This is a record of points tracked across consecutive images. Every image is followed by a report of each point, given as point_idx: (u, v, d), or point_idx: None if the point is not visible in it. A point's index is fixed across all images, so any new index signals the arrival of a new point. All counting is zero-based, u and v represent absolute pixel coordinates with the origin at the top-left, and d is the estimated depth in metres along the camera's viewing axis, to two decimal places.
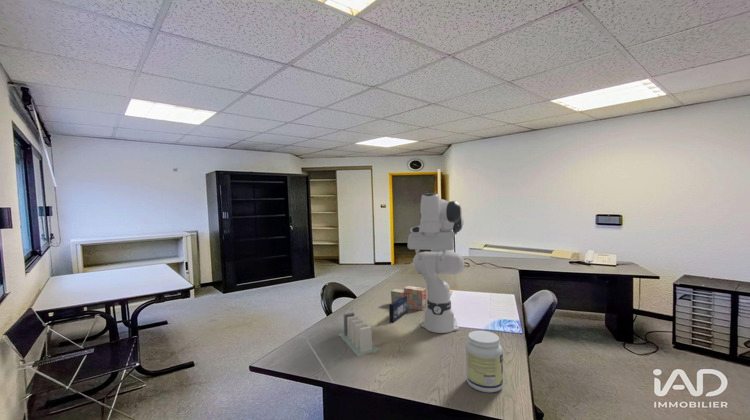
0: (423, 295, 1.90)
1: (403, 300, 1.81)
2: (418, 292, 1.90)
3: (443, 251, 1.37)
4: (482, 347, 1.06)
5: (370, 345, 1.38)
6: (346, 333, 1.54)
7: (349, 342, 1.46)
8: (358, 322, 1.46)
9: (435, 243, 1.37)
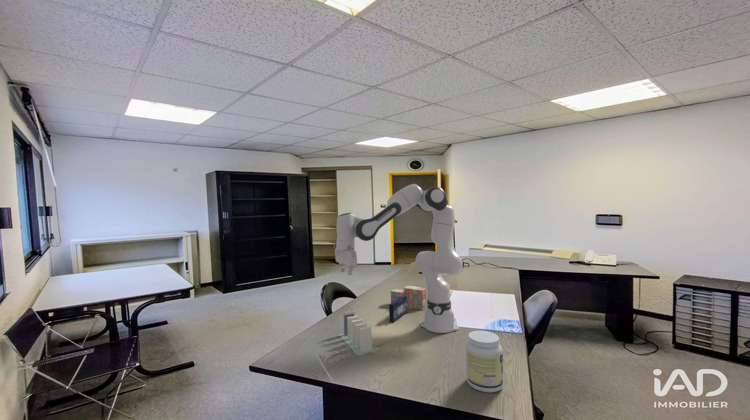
0: (423, 295, 1.91)
1: (403, 300, 1.81)
2: (418, 292, 1.90)
3: (348, 267, 1.51)
4: (482, 347, 1.06)
5: (370, 345, 1.38)
6: (346, 333, 1.54)
7: (349, 342, 1.46)
8: (358, 322, 1.46)
9: (344, 259, 1.54)
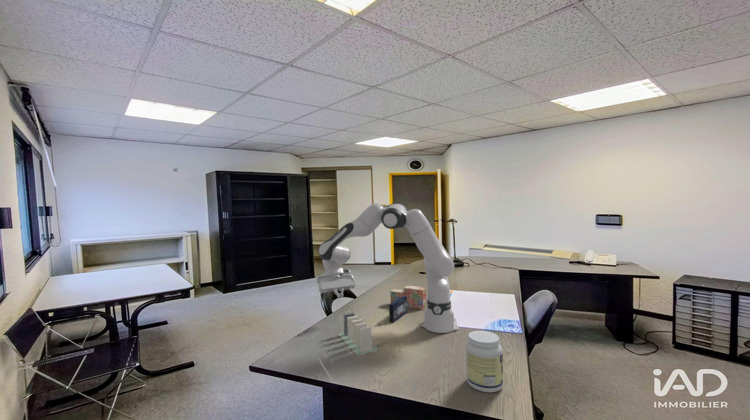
0: (423, 294, 1.92)
1: (403, 300, 1.81)
2: (418, 291, 1.91)
3: None
4: (482, 347, 1.06)
5: (370, 345, 1.38)
6: (346, 333, 1.54)
7: (349, 342, 1.46)
8: (358, 322, 1.46)
9: None
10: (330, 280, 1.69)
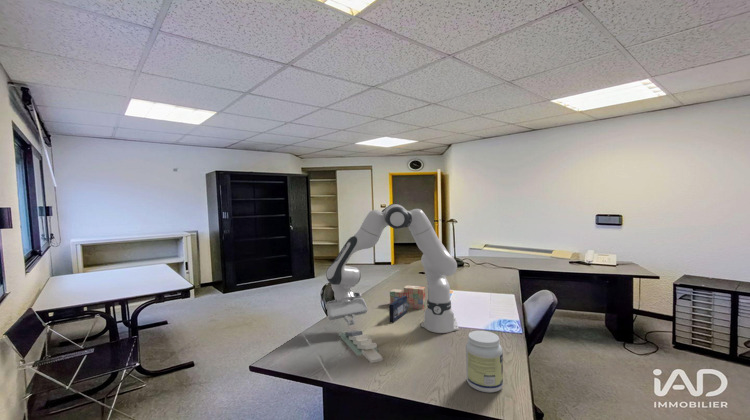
0: (423, 294, 1.93)
1: (403, 300, 1.81)
2: (419, 291, 1.92)
3: None
4: (482, 347, 1.06)
5: None
6: (347, 335, 1.53)
7: (349, 342, 1.46)
8: (367, 343, 1.38)
9: None
10: (340, 305, 1.56)
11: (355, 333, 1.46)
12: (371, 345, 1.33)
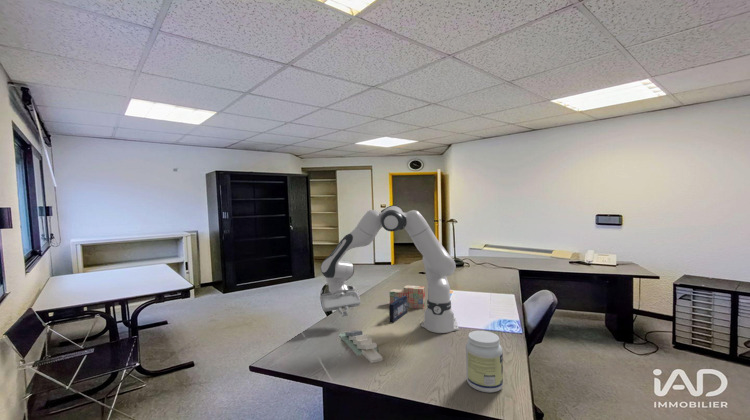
0: (423, 293, 1.94)
1: (403, 300, 1.81)
2: (419, 291, 1.92)
3: None
4: (482, 347, 1.06)
5: None
6: (347, 335, 1.53)
7: (349, 342, 1.46)
8: (367, 343, 1.38)
9: None
10: (334, 298, 1.63)
11: (355, 333, 1.46)
12: (371, 345, 1.33)
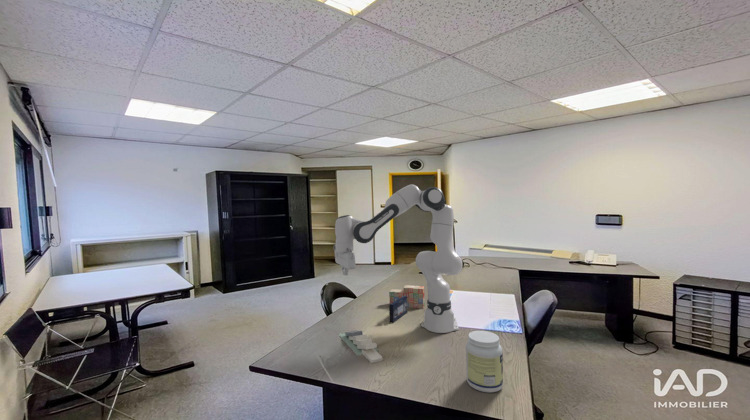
0: (423, 293, 1.94)
1: (403, 300, 1.81)
2: (419, 290, 1.93)
3: (344, 267, 1.57)
4: (482, 347, 1.06)
5: None
6: (347, 335, 1.53)
7: (349, 342, 1.46)
8: (367, 343, 1.38)
9: (343, 261, 1.56)
10: None
11: (355, 333, 1.46)
12: (371, 345, 1.33)
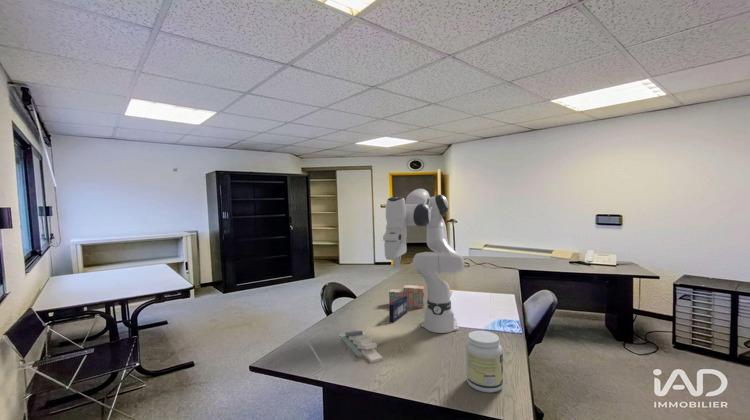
0: (423, 293, 1.95)
1: (403, 300, 1.81)
2: (419, 290, 1.94)
3: (400, 256, 1.37)
4: (482, 347, 1.06)
5: None
6: (347, 335, 1.53)
7: (349, 342, 1.46)
8: (367, 343, 1.38)
9: (402, 248, 1.37)
10: None
11: (355, 333, 1.46)
12: (371, 345, 1.33)
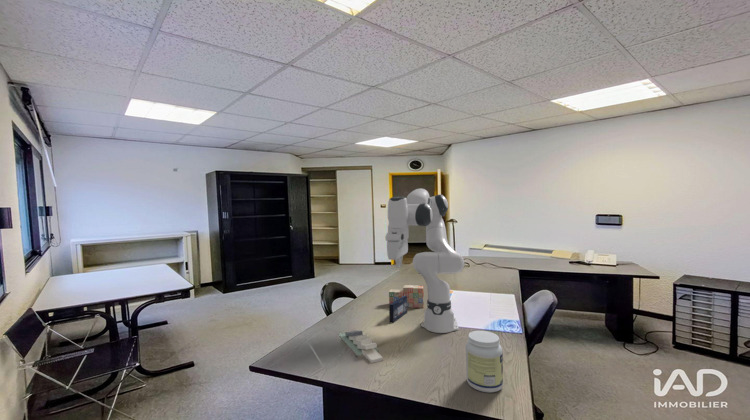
0: (423, 293, 1.95)
1: (403, 300, 1.81)
2: (419, 290, 1.94)
3: (402, 256, 1.36)
4: (482, 347, 1.06)
5: None
6: (347, 335, 1.53)
7: (349, 342, 1.46)
8: (367, 343, 1.38)
9: (404, 248, 1.37)
10: None
11: (355, 333, 1.46)
12: (371, 345, 1.33)
